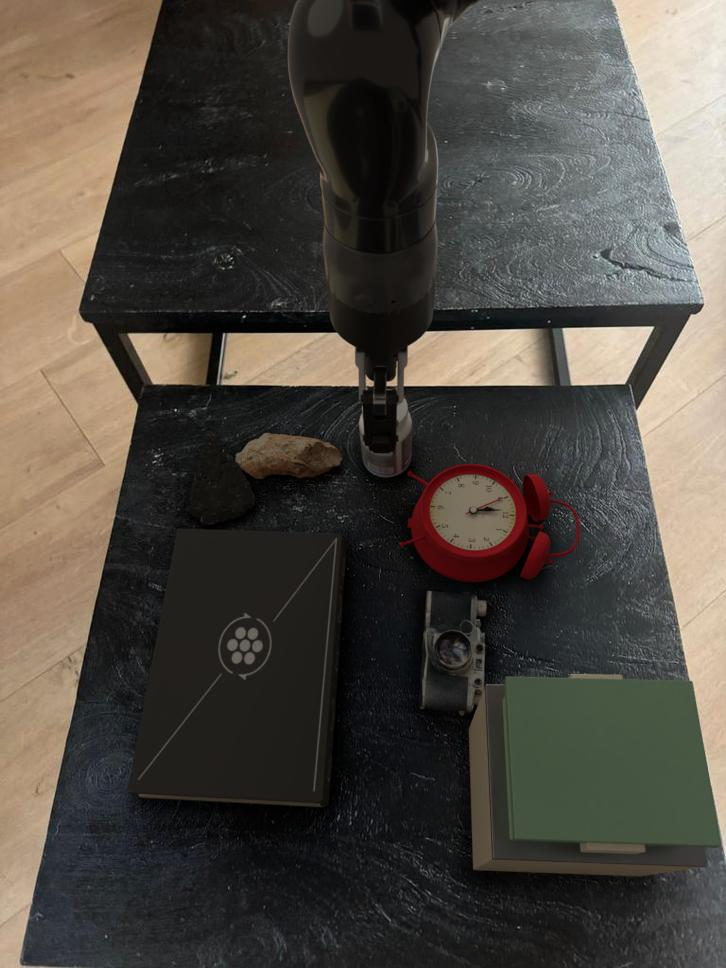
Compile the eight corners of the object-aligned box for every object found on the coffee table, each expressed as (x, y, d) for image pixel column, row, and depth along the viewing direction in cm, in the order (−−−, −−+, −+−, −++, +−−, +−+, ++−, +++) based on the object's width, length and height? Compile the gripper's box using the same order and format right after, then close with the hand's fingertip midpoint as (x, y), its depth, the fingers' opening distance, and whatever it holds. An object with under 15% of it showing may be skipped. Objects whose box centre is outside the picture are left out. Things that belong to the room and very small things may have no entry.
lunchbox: (667, 693, 48) (691, 674, 44) (694, 859, 43) (723, 854, 39) (496, 689, 48) (505, 670, 44) (505, 852, 44) (515, 846, 40)
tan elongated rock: (340, 491, 73) (346, 440, 74) (335, 483, 69) (342, 430, 70) (234, 480, 74) (242, 430, 75) (225, 472, 70) (233, 419, 71)
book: (329, 808, 58) (326, 803, 55) (138, 798, 59) (126, 792, 56) (347, 547, 68) (345, 533, 66) (185, 542, 69) (176, 527, 67)
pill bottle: (393, 428, 74) (392, 375, 67) (421, 463, 72) (423, 412, 65) (352, 451, 73) (347, 400, 66) (379, 487, 71) (376, 438, 64)
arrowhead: (188, 528, 69) (178, 436, 74) (191, 531, 70) (180, 439, 75) (256, 511, 69) (242, 420, 74) (258, 515, 70) (243, 424, 75)
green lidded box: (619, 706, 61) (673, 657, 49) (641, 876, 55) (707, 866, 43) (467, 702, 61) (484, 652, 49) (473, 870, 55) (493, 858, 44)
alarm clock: (404, 453, 69) (577, 447, 64) (418, 487, 74) (579, 484, 69) (392, 559, 64) (579, 560, 59) (408, 588, 69) (581, 591, 64)
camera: (485, 598, 65) (490, 579, 62) (480, 720, 61) (486, 708, 57) (426, 592, 66) (428, 573, 62) (416, 713, 61) (418, 701, 57)
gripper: (437, 350, 48) (427, 479, 62) (435, 194, 55) (426, 341, 69) (318, 350, 48) (335, 477, 62) (330, 194, 55) (343, 341, 69)
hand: (383, 406), depth 65 cm, fingers open, 8 cm apart
